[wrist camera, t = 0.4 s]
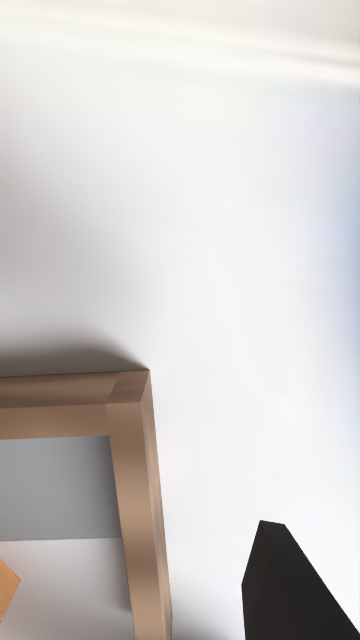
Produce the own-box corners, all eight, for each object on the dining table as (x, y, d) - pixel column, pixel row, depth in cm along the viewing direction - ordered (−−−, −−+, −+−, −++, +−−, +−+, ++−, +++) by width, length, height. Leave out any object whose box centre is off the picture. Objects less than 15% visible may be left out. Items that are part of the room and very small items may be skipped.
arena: (172, 617, 22) (169, 687, 19) (-85, 622, 23) (-133, 691, 19) (149, 369, 18) (140, 402, 14) (-165, 385, 19) (-244, 420, 15)
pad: (136, 535, 21) (136, 537, 20) (0, 539, 21) (-1, 541, 21) (120, 401, 18) (120, 402, 18) (-31, 408, 19) (-32, 409, 19)
